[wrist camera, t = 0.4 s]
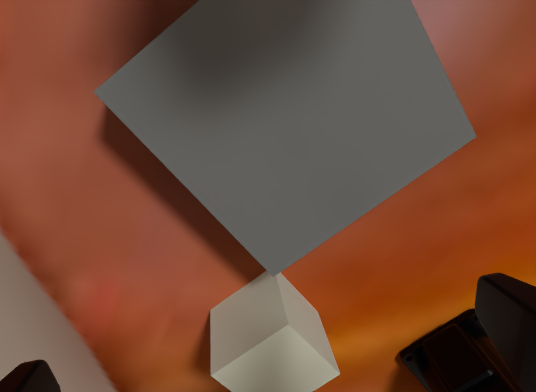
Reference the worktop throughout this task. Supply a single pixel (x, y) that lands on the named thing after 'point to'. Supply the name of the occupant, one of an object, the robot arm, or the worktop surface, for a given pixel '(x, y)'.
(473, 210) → the worktop surface
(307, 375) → the cube
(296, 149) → the plinth
